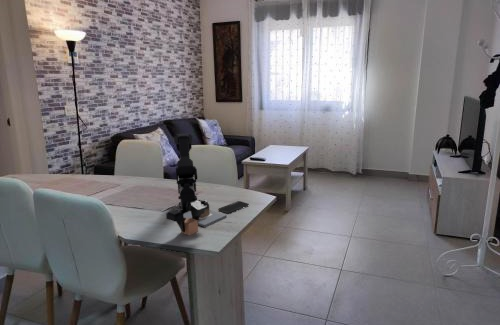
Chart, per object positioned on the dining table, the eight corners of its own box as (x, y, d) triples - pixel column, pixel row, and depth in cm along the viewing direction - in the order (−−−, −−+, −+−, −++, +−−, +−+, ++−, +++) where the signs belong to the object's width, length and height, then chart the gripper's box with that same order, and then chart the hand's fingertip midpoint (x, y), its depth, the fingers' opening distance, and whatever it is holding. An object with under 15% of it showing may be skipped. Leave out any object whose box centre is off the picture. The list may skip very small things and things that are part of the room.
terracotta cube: (181, 232, 147) (180, 221, 146) (190, 228, 151) (189, 217, 150) (189, 235, 144) (188, 224, 143) (198, 231, 148) (197, 220, 147)
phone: (217, 208, 171) (238, 200, 182) (217, 211, 171) (238, 202, 182) (228, 212, 166) (250, 204, 176) (228, 215, 166) (250, 206, 177)
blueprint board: (177, 217, 163) (177, 215, 162) (199, 208, 173) (199, 206, 173) (204, 227, 152) (204, 224, 151) (226, 217, 162) (226, 214, 162)
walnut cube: (194, 215, 162) (193, 205, 161) (202, 212, 166) (201, 202, 164) (201, 218, 159) (201, 207, 158) (209, 214, 163) (209, 204, 161)
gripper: (182, 204, 132) (185, 242, 135) (217, 191, 146) (218, 226, 150) (164, 198, 138) (167, 235, 142) (198, 187, 153) (200, 220, 156)
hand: (189, 229), depth 147 cm, fingers open, 6 cm apart
